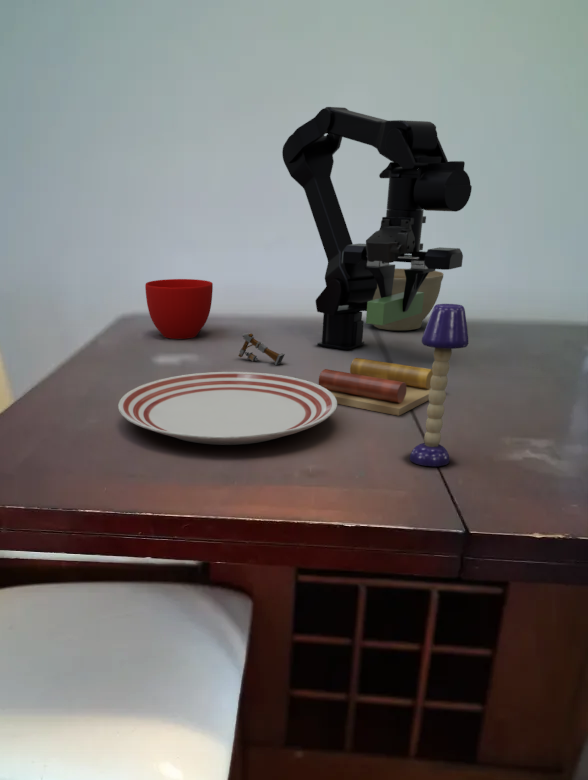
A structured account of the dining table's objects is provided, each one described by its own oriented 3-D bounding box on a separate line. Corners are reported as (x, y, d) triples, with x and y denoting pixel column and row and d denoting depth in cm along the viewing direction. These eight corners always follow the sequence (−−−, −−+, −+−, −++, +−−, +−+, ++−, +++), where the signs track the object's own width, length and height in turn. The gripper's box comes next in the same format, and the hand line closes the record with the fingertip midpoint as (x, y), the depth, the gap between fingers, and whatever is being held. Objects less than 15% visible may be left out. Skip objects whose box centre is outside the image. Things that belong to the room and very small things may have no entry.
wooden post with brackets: (237, 352, 128) (247, 328, 126) (274, 375, 126) (285, 352, 124) (232, 354, 127) (242, 330, 124) (269, 378, 125) (280, 355, 122)
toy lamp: (402, 453, 84) (419, 301, 77) (442, 451, 84) (462, 301, 78) (417, 468, 80) (435, 309, 73) (459, 466, 80) (481, 308, 73)
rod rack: (307, 398, 105) (308, 371, 104) (355, 378, 115) (357, 354, 113) (398, 415, 97) (401, 387, 95) (442, 393, 107) (445, 367, 105)
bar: (365, 323, 120) (367, 301, 119) (406, 311, 131) (408, 290, 129) (382, 325, 118) (384, 302, 117) (422, 313, 129) (424, 292, 127)
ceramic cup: (235, 330, 151) (235, 279, 147) (189, 345, 138) (188, 289, 134) (182, 324, 158) (181, 275, 154) (133, 337, 145) (131, 284, 141)
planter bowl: (376, 317, 164) (380, 266, 159) (448, 325, 155) (455, 271, 151) (343, 329, 152) (347, 273, 147) (419, 338, 143) (426, 279, 139)
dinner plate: (273, 476, 78) (274, 446, 76) (74, 433, 91) (71, 407, 90) (368, 411, 99) (370, 387, 97) (195, 384, 112) (195, 362, 111)
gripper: (327, 210, 117) (322, 311, 124) (440, 213, 106) (428, 323, 113) (361, 208, 125) (354, 303, 131) (470, 210, 114) (457, 313, 121)
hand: (395, 310), depth 124 cm, fingers closed on bar, 3 cm apart
